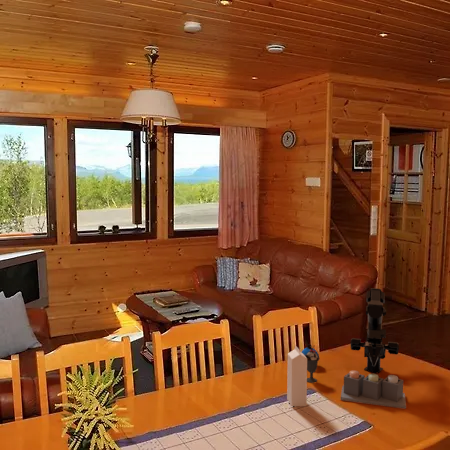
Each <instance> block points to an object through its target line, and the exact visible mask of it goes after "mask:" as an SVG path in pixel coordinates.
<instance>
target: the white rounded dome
mask: <svg viewBox="0 0 450 450" xmlns="http://www.w3.org/2000/svg"><path fill="white" fill-rule="evenodd" d="M387 377H388V382H391V383H395V384H397V383H398V379H399V377H398V376H397V375H396V374H395V375H394V374H389V375H387Z"/></svg>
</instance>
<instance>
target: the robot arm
mask: <svg viewBox="0 0 450 450" xmlns="http://www.w3.org/2000/svg"><path fill="white" fill-rule="evenodd" d="M385 296H386V293H385V292H383V291H382V289H381V288H376V287H375V288H373V287H371V288H370V290H367V291H366V298H365V299H366V300H365V301H366V303H367V305H366V306H365V307H366V308H365V315H367V334H366V340H365V342H364V341H363V342H362V339H361V338H357V337H356V338H355V337H352V338H351V339H350V350H351V351H360V350H361V348H364V351H363V353H364V354H363V358H366V366H365V367H364V368H363V370H364V371H367V372H371V373H373V374H379V373H380V372H381V371H383V369H384V368H383V367H381V360H384V359H385V358H386V351H387V353H389V354H390V355H399V349H400V345H399V344H400V343H398V342H394V341H388V343H387V344H383V339H386V338H387V337H386V336H387V329H384V328H383V317H385V316H387V309H386V308H385V307H384V304H385V302H386V300H385V298H386V297H385Z"/></svg>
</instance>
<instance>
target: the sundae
mask: <svg viewBox="0 0 450 450" xmlns="http://www.w3.org/2000/svg"><path fill="white" fill-rule="evenodd" d="M312 348H314V351H313V350H310V351H309V352H308V353H307V355H305V356H306V358H307V373H308V372H309V377H307V383H311V384H314V383H317V382H318V379H316V378H315V377H314V373H315V372H316V371H317V368H318V362H319V361H320V356H319V357H318V356H317V354H316V353H315V352H316V351H317V350H316V348H315V345H313V346H312ZM315 350H316V351H315Z"/></svg>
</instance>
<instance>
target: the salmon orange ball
mask: <svg viewBox="0 0 450 450" xmlns="http://www.w3.org/2000/svg"><path fill="white" fill-rule="evenodd" d="M349 373H350V377H351V378H355V379H358V378H359V374H360V371H358V370H350V371H349Z"/></svg>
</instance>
